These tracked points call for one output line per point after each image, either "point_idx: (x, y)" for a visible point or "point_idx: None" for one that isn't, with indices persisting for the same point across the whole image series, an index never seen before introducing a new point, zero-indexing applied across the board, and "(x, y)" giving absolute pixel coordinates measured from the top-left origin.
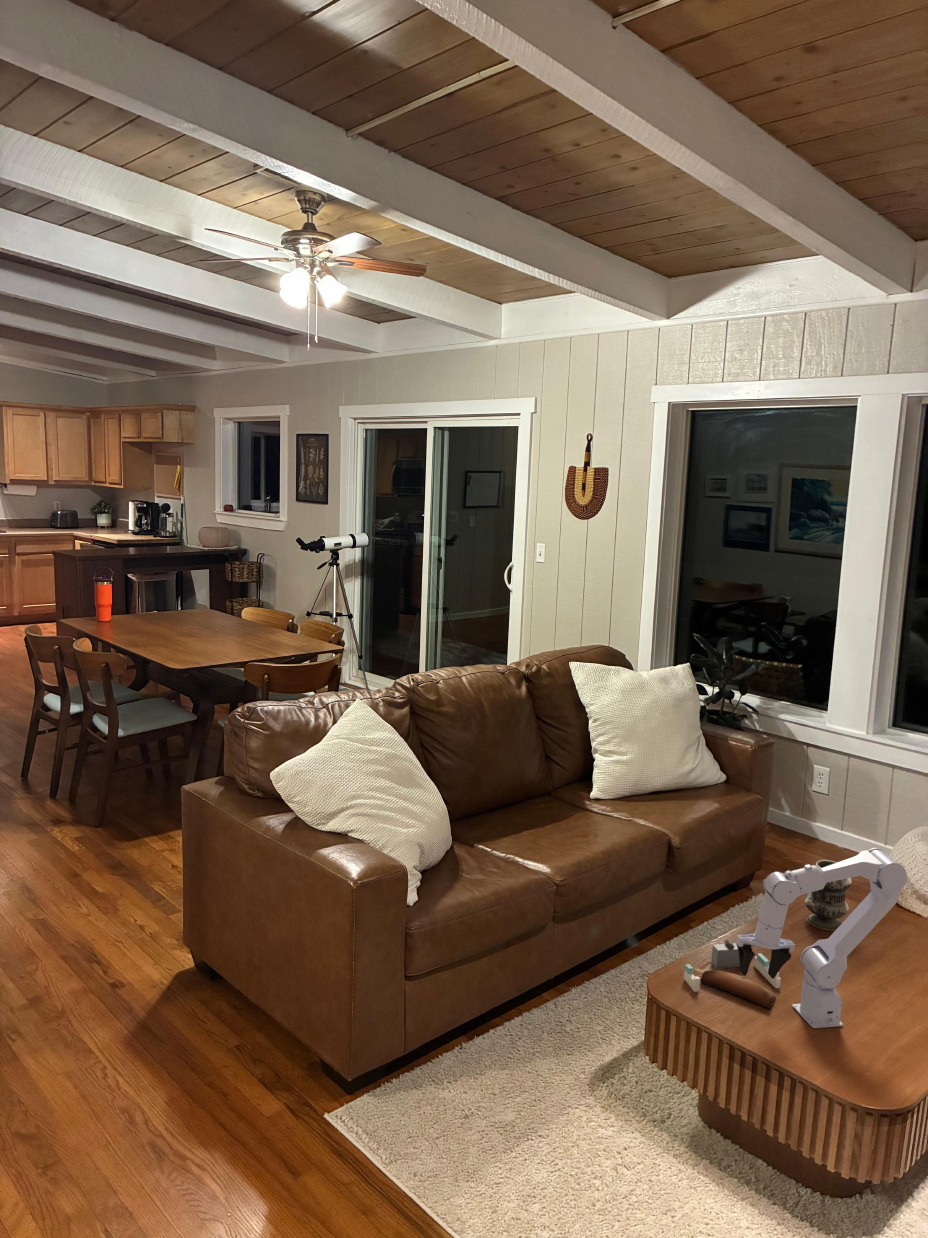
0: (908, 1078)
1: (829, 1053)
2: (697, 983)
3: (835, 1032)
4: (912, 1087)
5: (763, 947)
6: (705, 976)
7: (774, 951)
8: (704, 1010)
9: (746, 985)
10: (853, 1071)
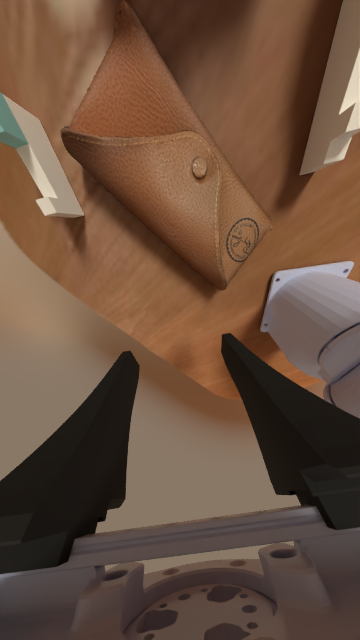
0: None
1: None
2: (62, 214)
3: None
4: None
5: (155, 576)
6: (76, 155)
7: (283, 443)
8: (103, 287)
9: (186, 244)
10: None
